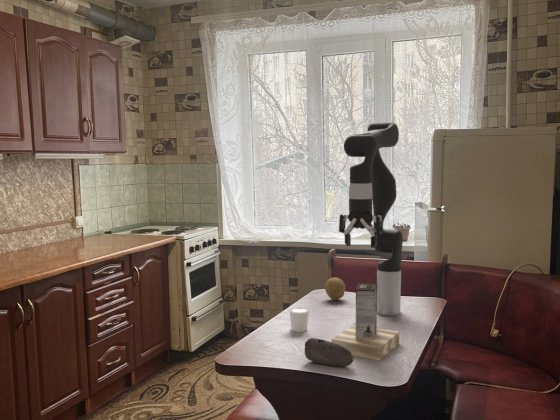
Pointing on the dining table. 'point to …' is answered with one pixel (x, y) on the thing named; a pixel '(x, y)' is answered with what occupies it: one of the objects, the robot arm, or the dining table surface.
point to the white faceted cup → (299, 319)
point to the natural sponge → (335, 288)
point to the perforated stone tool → (327, 353)
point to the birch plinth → (368, 343)
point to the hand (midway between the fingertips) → (360, 246)
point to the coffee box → (366, 311)
